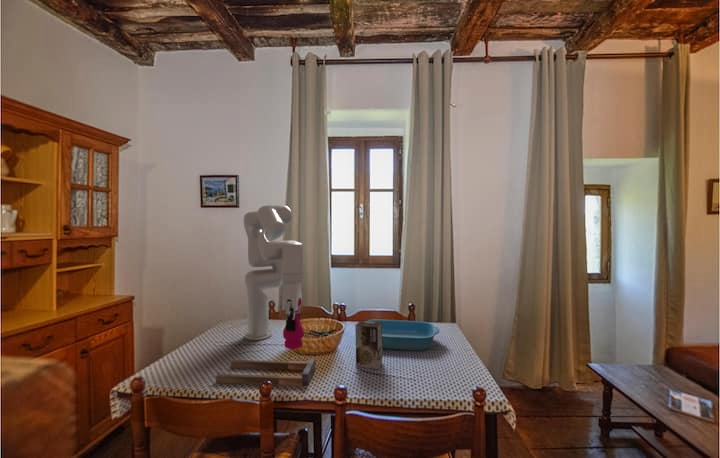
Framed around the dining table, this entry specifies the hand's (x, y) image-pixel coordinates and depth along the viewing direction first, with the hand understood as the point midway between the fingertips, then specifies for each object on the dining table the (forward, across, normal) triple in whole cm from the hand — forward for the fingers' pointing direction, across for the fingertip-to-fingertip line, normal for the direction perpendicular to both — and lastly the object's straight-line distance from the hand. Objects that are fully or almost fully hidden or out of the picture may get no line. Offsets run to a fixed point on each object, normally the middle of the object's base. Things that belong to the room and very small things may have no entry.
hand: (293, 327), depth 120 cm
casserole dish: (+18, -35, +39) cm, 55 cm away
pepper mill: (+7, 0, 0) cm, 7 cm away
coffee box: (+18, -11, +27) cm, 34 cm away
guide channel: (+18, 0, -9) cm, 20 cm away
